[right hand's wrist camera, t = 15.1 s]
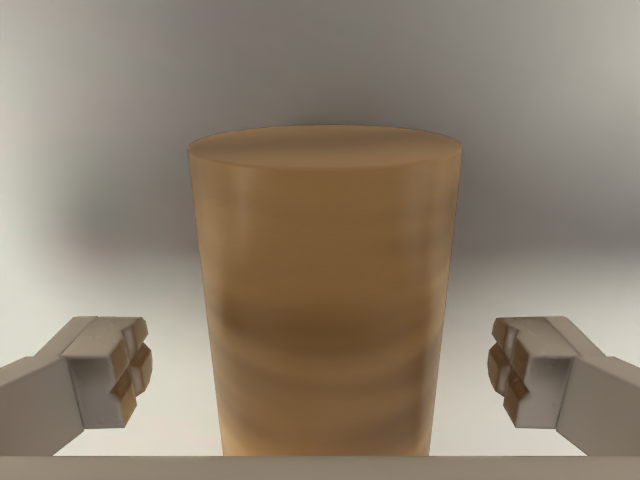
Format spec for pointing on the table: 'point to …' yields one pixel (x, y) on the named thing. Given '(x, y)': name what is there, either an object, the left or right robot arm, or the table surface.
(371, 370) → the rod
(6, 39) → the table surface
